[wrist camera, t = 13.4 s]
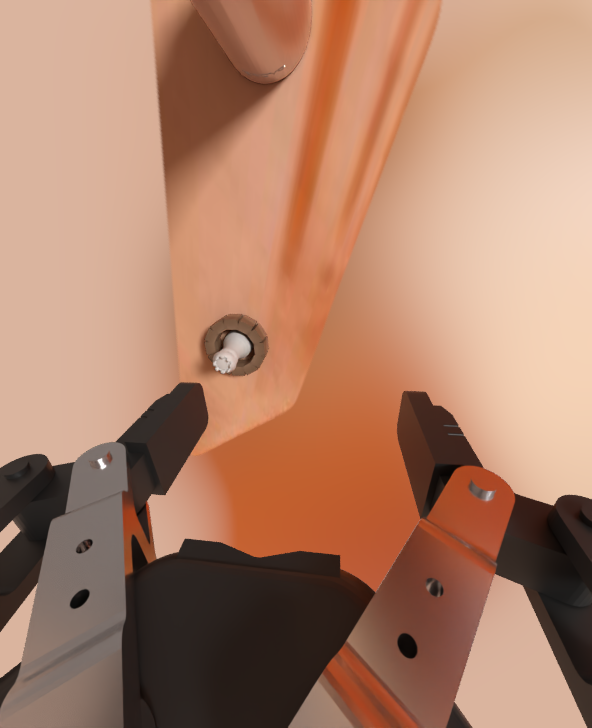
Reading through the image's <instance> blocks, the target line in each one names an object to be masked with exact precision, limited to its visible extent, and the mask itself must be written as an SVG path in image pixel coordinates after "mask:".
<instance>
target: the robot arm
mask: <svg viewBox="0 0 592 728" xmlns="http://www.w3.org/2000/svg"><path fill="white" fill-rule="evenodd" d="M190 1H191V2H192V4H193V5H194V7H195V8H196V10H197V11H198V13H199V14H200V16H201V17H202V19H203V20H204V22H205V23H206V25H207V26H208V28H209V29H210V31H211V32H212V34H213V35H214V37H215V38H216V40H217V42H218V43H219V45H220V46H221V47H222V49H223V50H224V52H225V53H226V55H227V56H228V58H229V59H230V61H231V62H232V64H233V65H234V67H235V68H236V69H237V70H238V71H239V72H240V73H241V74H242V75H243V76H244V77H246V78H248V79H249V80H251V81H254V82H257V83H262V84H269V83H273V82H277V81H279V80H281V79H283V78H285V77H286V76H287V75H288V74H289V73H290V72H292V71H293V70H294V68H295V67H296V66H297V64H298V63H299V61H300V60H301V58H302V56H303V54H304V51H305V49H306V47H307V43H308V40H309V36H310V30H311V22H312V11H311V0H190ZM207 424H208V411H207V407H206V402H205V397H204V393H203V388H202V386H201V384H200V383H184V382H182V383H179V384H178V385H177V386H176V387H175V388H174V389H173V391H172V392H171V393H170V394H166V395H165V396H163V397H161V398H160V399H158V400H156V401H155V402H154V403H153V404H152V405H151V406H150V407H149V408H148V410H147V411H145V413H143V414H142V416H141V418H139V419H138V420H137V421H136V422H135V423H134V424H133V425H132V426H131V427H130V428H129V429H128V430H127V431H126V432H125V433H124V434H123V435H122V436H121V437H120V438H119V439H118V440H117V441H116V442H109V443H104V444H101V445H98V446H95V447H93V448H91V449H90V450H88V451H86V452H85V453H83V454H82V455H81V456H80V457H79V458H78V459H77V460H76V462H73V463H67V464H62V465H56V466H52V465H51V463H50V462H49V460H48V458H47V457H46V456H45V455H42V454H33V455H28V456H24V457H22V458H19V459H16V460H14V461H12V462H10V463H8V464H6V465H4V466H3V467H1V468H0V532H1V531H2V530H3V529H4V528H5V527H6V526H7V525H8V524H9V523H10V522H11V521H12V520H13V521H14V522H15V524H16V525H17V527H18V528H19V529H20V530H21V531H20V533H19V534H18V535H17V536H16V537H15V538H14V539H13V540H12V541H11V542H10V543H9V544H8V545H7V546H6V548H4V549H3V551H2V552H1V553H0V632H1V630H2V629H3V628H4V626H5V625H6V624H7V622H8V621H9V620H10V619H11V617H12V616H13V614H14V613H15V612H16V611H17V609H18V608H19V607H20V605H21V604H22V603H23V601H24V600H25V599H26V598H27V596H28V595H29V594H30V592H31V591H32V590H33V588H34V587H35V586H36V584H37V583H38V585H37V590H36V594H35V599H34V604H33V609H32V614H31V618H30V623H29V629H28V633H27V638H26V643H25V648H24V652H23V657H22V662H20V663H19V664H18V665H17V666H15V667H14V668H13V669H12V670H10V671H9V672H8V673H6V674H5V675H4V676H3V677H1V678H0V728H472V726H471V725H470V724H469V722H468V721H467V719H466V718H465V716H464V715H463V714H462V712H461V711H460V709H459V708H458V706H457V705H456V704H455V702H454V701H455V698H456V695H457V692H458V689H459V685H460V682H461V678H462V676H463V672H464V669H465V666H466V663H467V660H468V657H469V654H470V651H471V647H472V644H473V641H474V638H475V635H476V631H477V628H478V625H479V622H480V619H481V616H482V613H483V609H484V606H485V603H486V600H487V597H488V594H489V590H490V587H491V584H492V581H493V578H494V575H495V574H497V575H499V576H501V577H504V578H506V579H508V580H511V581H513V582H516V583H518V584H521V585H523V587H524V589H525V591H526V594H527V596H528V598H529V600H530V602H531V604H532V607H533V609H534V611H535V613H536V616H537V618H538V620H539V622H540V624H541V627H542V629H543V631H544V633H545V635H546V637H547V640H548V642H549V644H550V646H551V648H552V651H553V653H554V655H555V657H556V660H557V662H558V664H559V666H560V668H561V670H562V673H563V675H564V677H565V679H566V682H567V684H568V686H569V688H570V690H571V692H572V695H573V697H574V699H575V701H576V704H577V706H578V708H579V710H580V712H581V714H582V717H583V719H584V721H585V723H586V726H587V728H592V499H589V498H586V497H582V496H577V495H564V496H561V497H560V498H558V500H557V501H556V503H555V504H554V506H553V505H549V504H546V503H543V502H539V501H536V500H533V499H530V498H526V497H523V496H520V495H518V494H515V493H514V492H513V490H512V489H511V487H510V486H509V485H508V484H507V482H506V481H504V480H503V479H502V478H501V477H500V476H498V475H497V474H495V473H493V472H491V471H489V470H487V469H484V468H483V466H482V464H481V463H480V461H479V459H478V458H477V456H476V454H475V452H474V451H473V449H472V448H471V446H470V444H469V442H468V441H467V439H466V437H465V436H464V434H463V432H462V431H461V429H460V428H459V427H458V424H457V422H456V420H455V419H454V417H453V415H452V414H450V413H449V412H448V411H447V410H446V409H444V408H443V407H442V406H433V404H432V403H431V401H430V399H429V397H428V395H427V393H426V392H416V391H404V392H403V395H402V400H401V406H400V412H399V418H398V424H397V434H398V441H399V445H400V448H401V451H402V455H403V459H404V462H405V466H406V469H407V473H408V476H409V479H410V484H411V487H412V491H413V494H414V498H415V501H416V505H417V508H418V512H419V515H420V519H421V520H420V521H419V522H418V524H417V526H416V527H415V529H414V531H413V532H412V534H411V535H410V537H409V539H408V540H407V542H406V544H405V545H404V547H403V549H402V550H401V552H400V554H399V555H398V557H397V558H396V560H395V562H394V563H393V565H392V567H391V568H390V570H389V572H388V573H387V575H386V577H385V578H384V580H383V581H382V583H381V585H380V586H379V588H378V590H377V591H376V592H374V591H373V590H372V589H371V588H370V587H369V586H368V585H367V584H365V583H364V582H363V581H361V580H360V579H359V578H357V577H355V576H354V575H352V574H350V573H348V572H346V571H344V570H341V569H340V555H332V554H323V553H313V552H304V551H297V552H291V553H285V554H279V555H273V556H268V557H262V558H258V557H253V556H251V555H249V554H246V553H244V552H242V551H239V550H237V549H235V548H233V547H230V546H228V545H226V544H223V543H221V542H212V541H202V540H193V539H185V540H184V542H183V544H182V546H181V548H180V550H179V552H177V553H173V554H169V555H166V556H164V557H161V558H159V559H156V554H155V548H154V541H153V533H152V526H151V517H150V510H149V505H148V502H147V500H148V498H149V497H150V496H151V494H156V495H166V493H167V491H168V490H169V488H170V486H171V485H172V483H173V481H174V480H175V478H176V476H177V475H178V473H179V472H180V470H181V468H182V467H183V465H184V463H185V462H186V460H187V458H188V456H189V455H190V454H191V452H192V450H193V449H194V447H195V445H196V444H197V442H198V441H199V439H200V437H201V436H202V434H203V432H204V431H205V429H206V427H207Z"/></svg>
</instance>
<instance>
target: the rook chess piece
mask: <svg viewBox="0 0 592 728" xmlns="http://www.w3.org/2000/svg"><path fill="white" fill-rule="evenodd" d="M223 343H224V349H222V350H221V351H220V352H217V353H216V354H215V355H214V357H213V366H215V367H216V368H215V370H216V371H218V370H219V371H221V374H225V373H229V372H232V371H233V370H235V368H236V364H237V362H238V359H240V358H244V357H246V356H247V355H248V354H249V353H250V352H251V351H252V349H253V342H252V341H251V339H250V338H249V337H248V335H246V334H244V333H243V332H241V331H239V330H232V331H230V332H229V333H228V334H227V336H226V337H225V339H224V342H223Z"/></svg>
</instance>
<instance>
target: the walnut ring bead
mask: <svg viewBox="0 0 592 728" xmlns="http://www.w3.org/2000/svg"><path fill="white" fill-rule="evenodd" d="M256 323H257V321H255V320H253V319H252V318H250V317H248V316H246V315H244V316H242V314H229V315H228V316H227V315H226V316H224V317H223V318H221V319H220V320H218V321H217V322H215V323H214V324H213V325H212V326H211V327H210V328H209V330H208V332H207V335H206V337H205V340H206V341H205V342H204V343H205V348H206V353H207V354H210V355H209V356H208V358H209V359H210V360H211V361H212V363H213V357H214V355H215V354H216V353H217V352H220V351H221V350H222V349H223V348H222V344H221V339H220V337H221V334H222V332H223V331H225V330H239V331H241V332H243V333H244V334H246V335H248V337H249V338H250V339H251V341H252V342H253V344H254V350H255V355H254V356H253V357H251V358H249V359H247V360H238V362H237V364H236V368H235V370H233V371H232V375H239V376H245V374H247V375H248V374H250V373H252V372H254V371H256V370H258V368H259V367H260V365H261V364H262V362H263V360H264V358H265V356H266V354H267V352H268V349H269V348H268V337H265V336H266V333H265V331H264V330H263V328H262V327H261V325H260V324H257V325H256ZM227 374H229V375H230V374H231V372H229V373H227Z"/></svg>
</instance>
